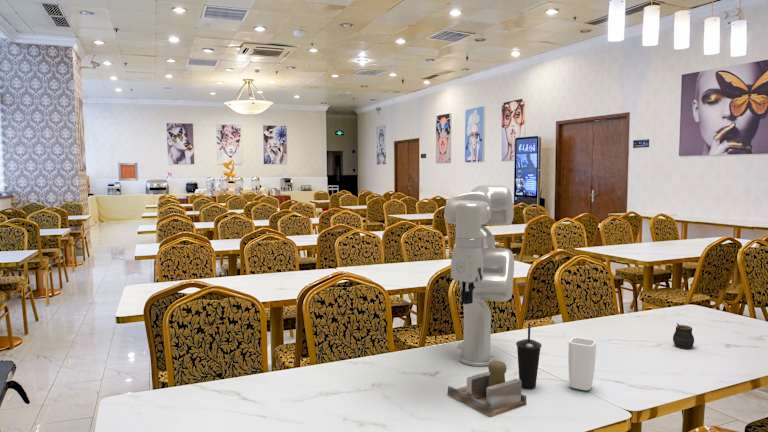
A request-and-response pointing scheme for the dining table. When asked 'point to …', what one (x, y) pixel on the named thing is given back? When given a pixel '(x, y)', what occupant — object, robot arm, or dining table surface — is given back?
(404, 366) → the dining table surface
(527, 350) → the drinking cup
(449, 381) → the dining table surface
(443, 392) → the dining table surface
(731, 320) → the dining table surface
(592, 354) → the cup
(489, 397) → the base
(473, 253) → the robot arm
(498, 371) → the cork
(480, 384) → the sliding jaw
